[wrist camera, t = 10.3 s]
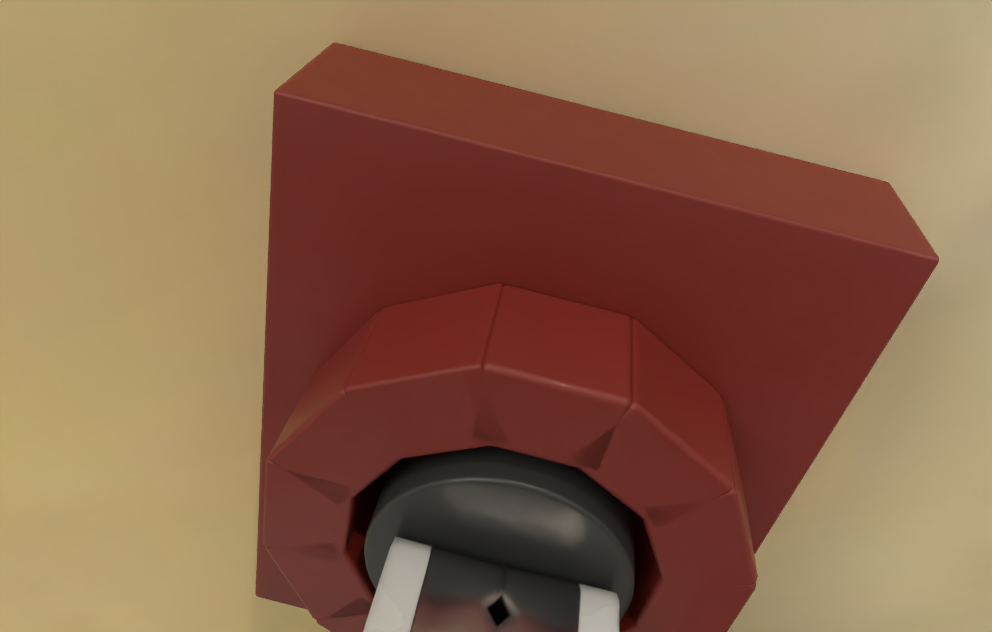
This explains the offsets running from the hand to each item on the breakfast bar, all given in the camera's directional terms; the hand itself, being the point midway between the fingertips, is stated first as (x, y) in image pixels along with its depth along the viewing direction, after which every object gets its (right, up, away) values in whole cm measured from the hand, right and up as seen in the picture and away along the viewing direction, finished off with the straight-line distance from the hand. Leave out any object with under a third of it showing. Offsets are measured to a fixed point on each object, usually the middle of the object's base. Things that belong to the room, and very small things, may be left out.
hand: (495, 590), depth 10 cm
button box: (+1, +3, +3) cm, 4 cm away
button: (0, +1, +1) cm, 2 cm away
